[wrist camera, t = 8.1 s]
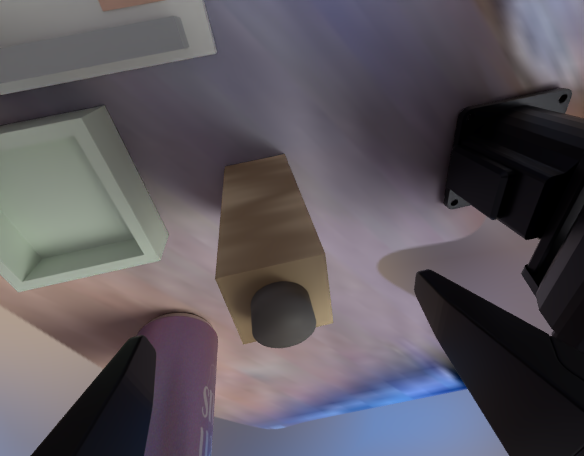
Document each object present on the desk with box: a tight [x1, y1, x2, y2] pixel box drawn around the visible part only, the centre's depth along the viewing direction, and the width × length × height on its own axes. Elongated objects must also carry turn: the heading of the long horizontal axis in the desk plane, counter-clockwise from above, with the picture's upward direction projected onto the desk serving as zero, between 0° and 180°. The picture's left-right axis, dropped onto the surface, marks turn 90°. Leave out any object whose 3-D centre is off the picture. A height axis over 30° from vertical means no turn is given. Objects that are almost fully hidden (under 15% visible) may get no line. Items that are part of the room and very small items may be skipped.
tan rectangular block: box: [215, 154, 333, 348], centre depth 13 cm, size 3×3×10 cm
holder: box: [0, 105, 169, 292], centre depth 15 cm, size 8×8×2 cm
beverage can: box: [137, 313, 218, 456], centre depth 17 cm, size 6×6×15 cm
